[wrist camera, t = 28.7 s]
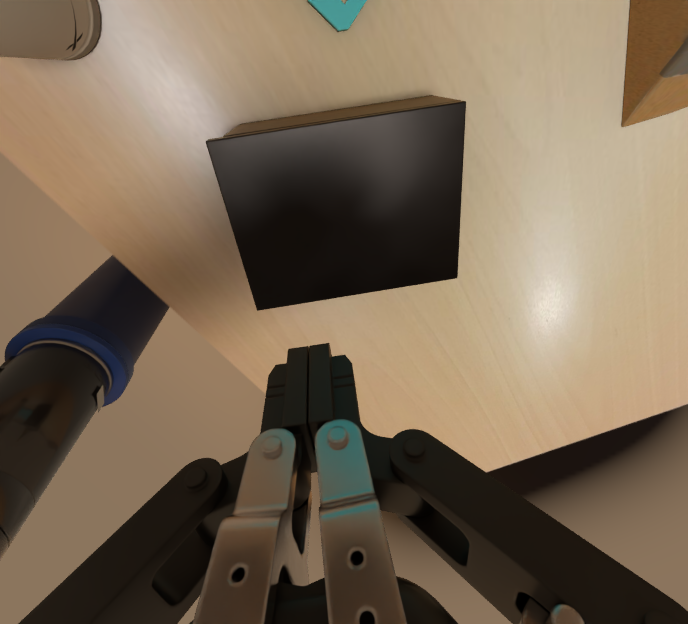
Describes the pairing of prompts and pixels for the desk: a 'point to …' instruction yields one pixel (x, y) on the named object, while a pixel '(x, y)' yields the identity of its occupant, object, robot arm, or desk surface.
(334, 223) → the lid
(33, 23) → the travel mug
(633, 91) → the sandwich container
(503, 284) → the desk surface
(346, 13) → the diskette
